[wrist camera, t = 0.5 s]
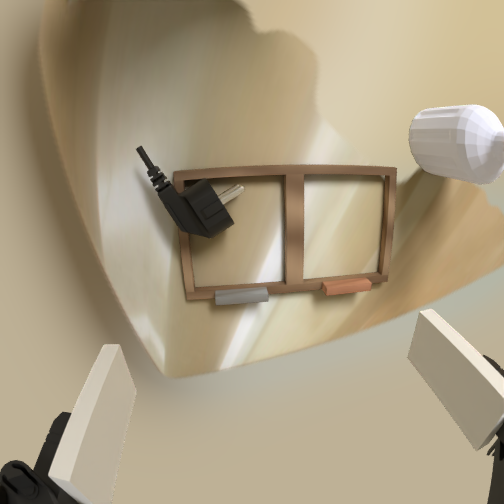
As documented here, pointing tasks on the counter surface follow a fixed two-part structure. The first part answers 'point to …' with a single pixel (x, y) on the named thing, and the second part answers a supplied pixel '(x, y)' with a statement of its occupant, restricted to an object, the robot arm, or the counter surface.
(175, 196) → the power plug
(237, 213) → the counter surface
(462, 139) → the soap bottle
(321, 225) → the counter surface
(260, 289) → the strip
